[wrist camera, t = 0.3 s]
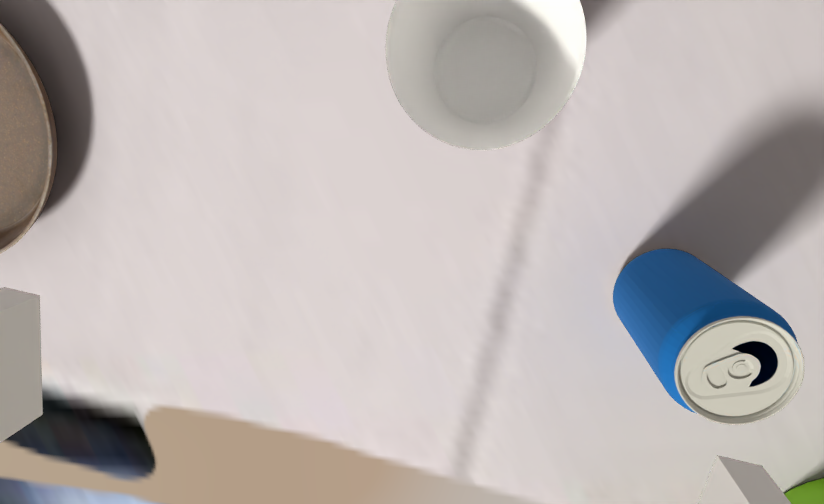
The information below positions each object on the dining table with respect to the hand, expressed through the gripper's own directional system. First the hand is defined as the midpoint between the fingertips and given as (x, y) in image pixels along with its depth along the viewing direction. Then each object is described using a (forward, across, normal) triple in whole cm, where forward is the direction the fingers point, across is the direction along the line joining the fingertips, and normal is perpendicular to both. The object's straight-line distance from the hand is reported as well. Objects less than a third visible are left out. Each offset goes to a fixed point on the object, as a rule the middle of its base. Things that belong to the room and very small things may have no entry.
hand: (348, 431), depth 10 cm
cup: (+28, 0, +9) cm, 29 cm away
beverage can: (+28, +15, -3) cm, 32 cm away
